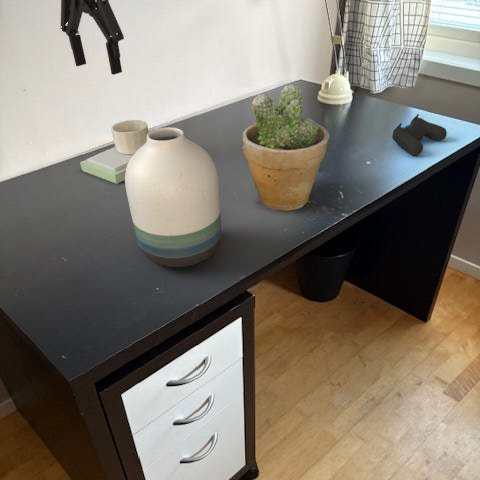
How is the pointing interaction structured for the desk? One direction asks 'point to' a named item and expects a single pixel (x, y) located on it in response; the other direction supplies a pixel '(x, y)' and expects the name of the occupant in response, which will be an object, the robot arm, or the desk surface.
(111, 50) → the robot arm
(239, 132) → the desk surface
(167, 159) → the vase
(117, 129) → the beige cup
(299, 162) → the potted plant
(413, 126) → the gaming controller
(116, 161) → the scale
